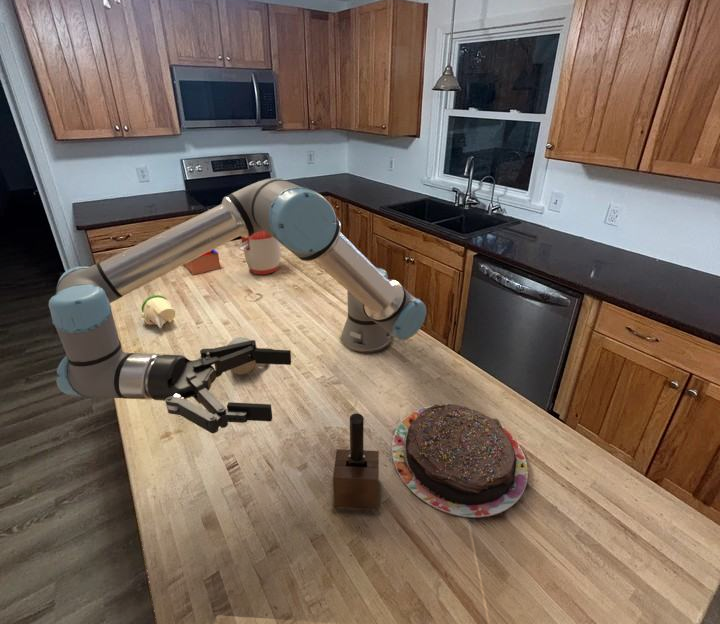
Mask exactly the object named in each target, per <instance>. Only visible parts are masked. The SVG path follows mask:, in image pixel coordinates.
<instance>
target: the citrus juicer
mask: <svg viewBox="0 0 720 624" xmlns="http://www.w3.org/2000/svg"><path fill="white" fill-rule="evenodd" d="M240 239H241V243H240V244H239V247H238V248H239V250H240V251H243V254H244V255H243V256H244V259H245V262H246V264H247V267H248V269H249V271H250V272H251V273H253V274H255V275H260V276H262V275H269V274H271V273H274V272H276V271H277V270H278V269H279V266H280V262H281V257H282V256H281V255H282V254H281V243H280V242H279V241H277V240H276V239H275V238H273V237H272V236H271V235H269V234H268V233H266V232H265V231H262V232H257V233H255V234H253V235H251V236H249V237H247V238H246V237H242V236H240Z"/></svg>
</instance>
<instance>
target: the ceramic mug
mask: <svg viewBox="0 0 720 624" xmlns="http://www.w3.org/2000/svg"><path fill="white" fill-rule="evenodd" d="M251 340H252V339H250V338H248V337H245V336H244V337H243V336H240V337H236V338H234V339H231V340H230V341H229V342H228V343H227V345H232V344H237V343H241V342H246V341H251ZM248 356H250V355H248ZM266 365H267V364H259V363H256V362H255V360H254V361H251V362H248V363H246V364H243V365H241V366H238V367H236V368H233V369H230V370H231V372H232V373H233V374H235V375H239V376H240V375H241V376H242V375H247V374H248V373H250V372H252V371H254V369H255V368H263V367H265V366H266Z"/></svg>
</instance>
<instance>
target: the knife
mask: <svg viewBox="0 0 720 624" xmlns="http://www.w3.org/2000/svg"><path fill="white" fill-rule="evenodd" d="M364 422H365V419H364V416H363V415H362V414H361V413H357V412H356V413H353V414H351V415H350V416H349V450H350V455H348V466H349V467H365V456H364V455H363V450H364V441H365V439H364V434H365V433H364V432H365V431H364V430H365V429H364V428H365V427H364V425H365V423H364Z"/></svg>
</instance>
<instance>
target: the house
mask: <svg viewBox="0 0 720 624" xmlns="http://www.w3.org/2000/svg"><path fill="white" fill-rule="evenodd" d="M184 265H185V267H186V268H187V269H188V270H189V271H190V273H191V274H192V275H193V276H194V275H195V276H196V275H200V274H203V273H207V272H211V271H216V270H219V269H221V263H220V256H219V253H218V251H216V250H215V249H213V250H211V251H209V252H207V253H205V254H203V255H201V256H199V257H198V258H196V259H194V260H192V261H190V262H188V263H186V264H184Z"/></svg>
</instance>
